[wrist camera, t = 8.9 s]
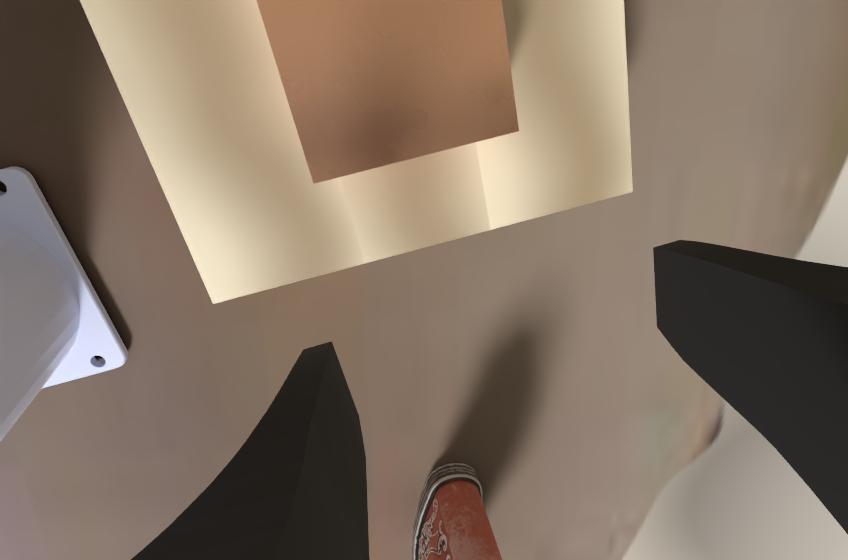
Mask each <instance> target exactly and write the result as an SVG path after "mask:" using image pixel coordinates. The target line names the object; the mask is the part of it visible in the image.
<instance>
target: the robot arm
mask: <svg viewBox="0 0 848 560" xmlns="http://www.w3.org/2000/svg"><path fill="white" fill-rule="evenodd" d="M0 181H1V182H3V183H4V184H5V185H6V187H7V192H2V191H0V442H1V440H2V439H3V438H4V436H5V435H6V434H7V433H8V431H9V430H10V429H11V427H12V426H13V425H14V423H15V422H16V421H17V420H18V418H19V417H20V416H21V414H22V413H23V412H24V411H25V409H26V408H27V407H28V405H29V404H30V403H31V401H32V400H33V399H34V398H35V396H36V395H37V394H38V392H39V391H40V390H41V389H42V388H45V387H49V386H53V385H56V384H60V383H64V382H67V381H71V380H75V379H78V378H82V377H86V376H89V375H93V374H97V373H100V372H104V371H108V370H111V369H115V368H118V367H120V366H122V365H123V364H124V363H125V361H126V360H127V357H128V351H127V349H126V347H125V345H124V343H123V341H122V340H121V338H120V336H119V334H118V332H117V330H116V329H115V327H114V325H113V323H112V321H111V319H110V317H109V316H108V314H107V312H106V310H105V308H104V306H103V305H102V303H101V301H100V299H99V297H98V295H97V294H96V292H95V290H94V288H93V286H92V284H91V282H90V281H89V279H88V277H87V275H86V273H85V271H84V270H83V268H82V266H81V264H80V262H79V260H78V258H77V257H76V255H75V253H74V251H73V249H72V247H71V246H70V244H69V242H68V240H67V238H66V236H65V235H64V233H63V231H62V229H61V227H60V225H59V223H58V222H57V220H56V218H55V216H54V214H53V212H52V211H51V209H50V207H49V205H48V203H47V201H46V199H45V198H44V196H43V194H42V192H41V190H40V188H39V187H38V185H37V183H36V181H35V179H34V177H33V176H32V175H31V174H30V172H28V171H27V170H25V169H24V168H20V167H8V168H4V169H0ZM653 251H654V272H655V293H656V314H657V327H658V329H659V330H660V331H661V333H662V334H663V335H664V337H665V338H666V339H667V341H668V342H669V343H670V344H671V346H672V347H673V348H674V349H675V351H676V352H677V353H678V354H679V355H680V357H681V358H682V359H683V360H684V361H685V362H686V363H687V364H688V365H689V366H690V367H691V368H692V369H693V370H694V371H695V372H696V373H697V374H698V375H699V376H700V377H701V378H702V379H703V380H704V381H705V382H706V383H708V384H709V385H710V386H711V387H712V388H713V389H714V390H715V391H716V392H717V393H718V394H719V395H720V396H721V397H723V398H724V399H725V400H726V401H727V402H728V403H729V404H730V405H731V406H732V407H733V408H734V409H735V410H736V411H738V412H739V413H740V414H741V415H742V416H743V417H744V418H745V419H746V420H747V421H748V422H749V423H750V424H752V425H753V426H754V427H755V428H756V429H757V430H758V431H759V432H760V433H761V434H762V435H763V436H764V437H765V438H766V439H767V440H768V441H769V442H770V443H771V444H772V445H773V446H774V447H775V448H776V449H777V450H778V452H779V453H780V454H781V455H782V456H783V457H784V459H786V461H787V462H788V463H789V464H790V465H791V467H792V468H793V469H794V470H795V471H796V472H797V473H798V474H799V476H800V477H801V478H802V479H803V480H804V482H805V483H806V484H807V485H808V486H809V487H810V488H811V490H812V491H813V492H814V493H815V495H816V496H817V497H818V498H819V499H820V501H821V502H822V503H823V504H824V506H825V507H826V508H827V509H828V511H829V512H830V513H831V514H832V515H833V517H834V518H835V519H836V520H837V522H838V523H839V524H840V525H841V526H842V528H843V529H844V530H845V531H846V533H847V534H848V267H841V266H834V265H827V264H821V263H814V262H807V261H801V260H796V259H790V258H784V257H779V256H773V255H768V254H762V253H757V252H752V251H747V250H742V249H736V248H731V247H726V246H720V245H715V244H709V243H703V242H696V241H686V240H678V241H675V242H672V243H668V244H665V245H661V246H658V247H654V248H653ZM94 356H101V357H103V358H104V359H105V362H100V361H97V360H96V359H95V357H94ZM131 560H369V540H368V510H367V480H366V457H365V450H364V444H363V438H362V432H361V426H360V420H359V415H358V413H357V410H356V407H355V404H354V402H353V399H352V396H351V393H350V391H349V388H348V385H347V382H346V380H345V377H344V374H343V371H342V369H341V366H340V363H339V360H338V358H337V355H336V352H335V349H334V347H333V344H332V342H328V343H325V344H321V345H318V346H314V347H311V348H308V349H304V350H303V351H302V353H301V355H300V356H299V358H298V360H297V361H296V363H295V365H294V366H293V368H292V370H291V372H290V373H289V375H288V377H287V379H286V380H285V382H284V384H283V386H282V387H281V389H280V391H279V392H278V394H277V396H276V397H275V399H274V400H273V402H272V404H271V405H270V407H269V409H268V410H267V412H266V413H265V415H264V416H263V417H262V419H261V420H260V422H259V423H258V425H257V426H256V427H255V429H254V430H253V432H252V433H251V435H250V436H249V438H248V439H247V440H246V442H245V443H244V444H243V446H242V447H241V448H240V450H239V451H238V452H237V453H236V455H235V456H234V457H233V458H232V460H231V461H230V462H229V463H228V464H227V466H226V467H225V468H224V469H223V470H222V471H221V473H220V474H219V475H218V476H217V477H216V478H215V480H214V481H213V482H212V483H211V484H210V485H209V486H208V487H207V488H206V489H205V490H204V491H203V492H202V493H201V494H200V495H199V496H198V498H197V499H196V500H195V501H194V502H193V503H192V504H191V505H190V506H189V507H188V508H187V509H186V510H185V511H184V512H183V513H182V514H181V515H180V516H179V517H178V518H177V519H176V520H175V521H174V522H173V523H172V524H171V525H170V526H168V527H167V528H166V529H165V530H164V531H163V532H162V533H161V534H160V535H159V536H158V537H156V538H155V539H154V540H153V541H152V542H151V543H150V544H149V545H147V546H146V547H145V548H144V549H143V550H142V551H141V552H139V553H138V554H137V555H136V556H135V557H133V558H132V559H131Z"/></svg>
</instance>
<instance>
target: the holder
mask: <svg viewBox="0 0 848 560" xmlns="http://www.w3.org/2000/svg"><path fill="white" fill-rule="evenodd" d="M80 2H81V4H82V7H83V9H84V11H85V13H86V16H87V18H88V20H89V23H90V25H91V27H92V29H93V32H94V34H95V36H96V39H97V41H98V43H99V45H100V48H101V50H102V52H103V54H104V57H105V59H106V61H107V64H108V66H109V68H110V70H111V73H112V75H113V77H114V79H115V82H116V84H117V86H118V89H119V91H120V93H121V95H122V98H123V100H124V102H125V104H126V107H127V109H128V111H129V114H130V116H131V118H132V120H133V123H134V125H135V127H136V130H137V132H138V134H139V136H140V139H141V141H142V143H143V145H144V148H145V150H146V152H147V155H148V157H149V159H150V161H151V164H152V166H153V168H154V170H155V173H156V175H157V177H158V180H159V182H160V184H161V186H162V189H163V191H164V193H165V196H166V198H167V200H168V202H169V205H170V207H171V209H172V211H173V214H174V216H175V218H176V221H177V223H178V225H179V227H180V230H181V232H182V234H183V236H184V239H185V241H186V243H187V246H188V248H189V250H190V252H191V255H192V257H193V259H194V262H195V264H196V266H197V268H198V271H199V273H200V275H201V277H202V280H203V282H204V284H205V287H206V289H207V291H208V293H209V296H210V298H211V300H212V302H213V304H215V303H219V302H222V301H226V300H230V299H233V298H237V297H241V296H245V295H248V294H252V293H256V292H260V291H263V290H267V289H271V288H275V287H278V286H282V285H286V284H290V283H293V282H297V281H301V280H305V279H308V278H312V277H316V276H319V275H323V274H327V273H331V272H334V271H338V270H342V269H346V268H349V267H353V266H357V265H361V264H364V263H368V262H372V261H376V260H379V259H383V258H387V257H391V256H394V255H398V254H402V253H405V252H409V251H413V250H417V249H420V248H424V247H428V246H432V245H435V244H439V243H443V242H447V241H450V240H454V239H458V238H462V237H465V236H469V235H473V234H477V233H480V232H484V231H488V230H492V229H495V228H499V227H503V226H506V225H510V224H514V223H518V222H521V221H525V220H529V219H533V218H536V217H540V216H544V215H548V214H551V213H555V212H559V211H563V210H566V209H570V208H574V207H578V206H581V205H585V204H589V203H592V202H596V201H600V200H604V199H607V198H611V197H615V196H619V195H622V194H626V193H630V192H633V189H632V167H631V145H630V123H629V101H628V79H627V57H626V35H625V13H624V0H502V7H503V14H504V22H505V29H506V37H507V44H508V52H509V59H510V66H511V74H512V81H513V89H514V96H515V104H516V111H517V119H518V126H519V131H518V132H514V133H510V134H506V135H502V136H498V137H494V138H490V139H487V140H483V141H479V142H475V143H471V144H467V145H463V146H459V147H455V148H451V149H448V150H444V151H440V152H436V153H432V154H428V155H424V156H420V157H416V158H412V159H409V160H405V161H401V162H397V163H393V164H389V165H385V166H381V167H377V168H373V169H370V170H366V171H362V172H358V173H354V174H350V175H346V176H342V177H338V178H334V179H331V180H327V181H323V182H319V183H315V184H313V181H312V177H311V174H310V171H309V168H308V164H307V161H306V158H305V155H304V152H303V148H302V145H301V142H300V139H299V136H298V132H297V129H296V126H295V123H294V120H293V116H292V113H291V110H290V107H289V103H288V100H287V97H286V94H285V91H284V87H283V84H282V81H281V78H280V75H279V71H278V68H277V65H276V62H275V59H274V55H273V52H272V49H271V46H270V42H269V39H268V36H267V33H266V30H265V26H264V23H263V20H262V17H261V14H260V10H259V7H258V4H257V1H256V0H80Z"/></svg>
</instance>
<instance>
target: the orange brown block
mask: <svg viewBox="0 0 848 560" xmlns="http://www.w3.org/2000/svg"><path fill="white" fill-rule="evenodd" d="M256 1H257V4H258V7H259V10H260V14H261V17H262V20H263V23H264V26H265V30H266V33H267V36H268V39H269V42H270V46H271V49H272V52H273V55H274V59H275V62H276V65H277V68H278V71H279V75H280V78H281V81H282V84H283V87H284V91H285V94H286V97H287V100H288V103H289V107H290V110H291V113H292V116H293V120H294V123H295V126H296V129H297V132H298V136H299V139H300V142H301V145H302V148H303V152H304V155H305V158H306V161H307V164H308V168H309V171H310V174H311V177H312V181H313V184H315V183H319V182H323V181H327V180H331V179H334V178H338V177H342V176H346V175H350V174H354V173H358V172H362V171H366V170H370V169H373V168H377V167H381V166H385V165H389V164H393V163H397V162H401V161H405V160H409V159H412V158H416V157H420V156H424V155H428V154H432V153H436V152H440V151H444V150H448V149H451V148H455V147H459V146H463V145H467V144H471V143H475V142H479V141H483V140H487V139H490V138H494V137H498V136H502V135H506V134H510V133H514V132H518V131H519V126H518V119H517V111H516V104H515V96H514V89H513V81H512V74H511V66H510V59H509V52H508V44H507V37H506V29H505V22H504V14H503V7H502V0H256Z"/></svg>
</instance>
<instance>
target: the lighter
mask: <svg viewBox="0 0 848 560" xmlns="http://www.w3.org/2000/svg"><path fill="white" fill-rule="evenodd" d="M411 550H412V559H413V560H502V558H501V555H500V552H499V549H498V546H497V543H496V540H495V537H494V535H493V532H492V529H491V526H490V523H489V520H488V517H487V514H486V511H485V508H484V505H483V499H482V487H481V484H480V482H479V479H478V476H477V473H476V471H475V470H474V469H473V468H472V467H471V466H468V465H466V464H461V463H452V464H446V465H443V466H441V467H438V468H437V469H436V470H434V471H433V472H432V473H431V474H430V475H429V477H428V478H427V481H426V483H425V486H424V488H423V491H422V493H421V496H420V498H419V501H418V505H417V509H416V513H415V517H414V521H413V525H412V543H411Z"/></svg>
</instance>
